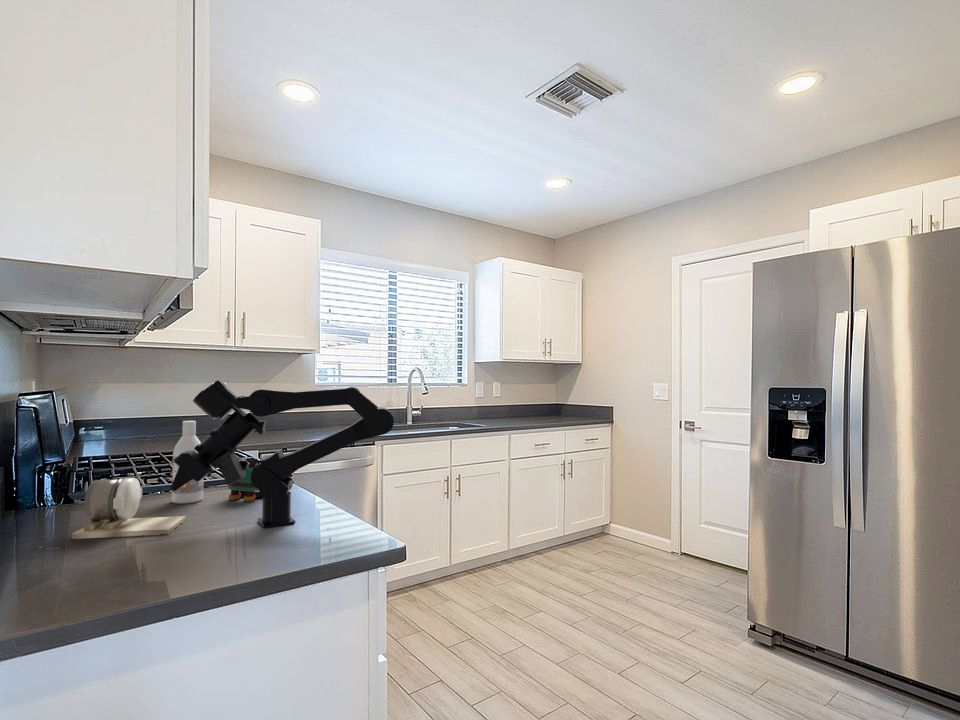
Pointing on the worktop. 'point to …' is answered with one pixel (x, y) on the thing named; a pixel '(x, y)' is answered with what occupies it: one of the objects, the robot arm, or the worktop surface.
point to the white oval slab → (127, 498)
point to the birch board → (129, 527)
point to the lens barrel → (101, 500)
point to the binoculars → (245, 485)
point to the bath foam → (191, 489)
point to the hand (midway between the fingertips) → (172, 489)
